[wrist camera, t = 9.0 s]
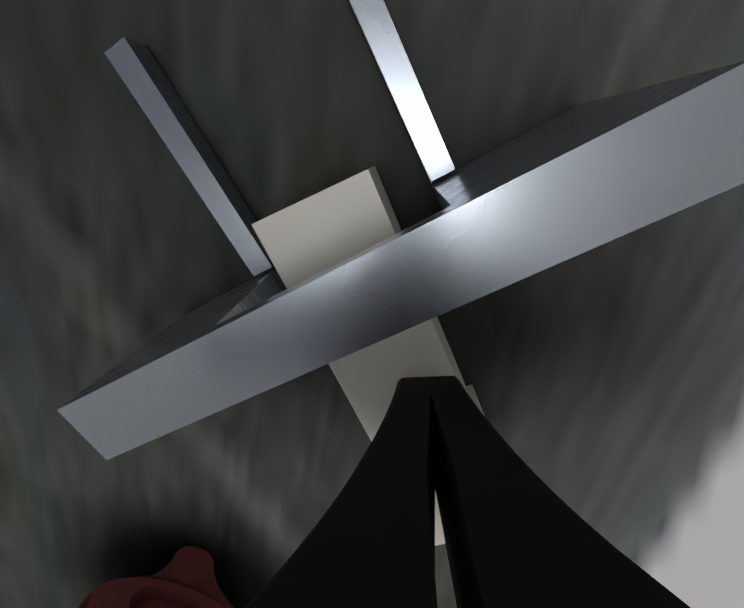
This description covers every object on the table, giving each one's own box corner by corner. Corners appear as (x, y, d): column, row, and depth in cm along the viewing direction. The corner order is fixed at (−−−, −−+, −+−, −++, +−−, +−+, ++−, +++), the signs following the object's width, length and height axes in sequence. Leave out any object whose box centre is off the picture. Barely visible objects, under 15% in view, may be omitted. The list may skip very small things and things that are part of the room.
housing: (43, 128, 10) (-241, 110, 5) (481, -217, 7) (619, -854, 2) (212, 349, 12) (106, 460, 8) (594, 162, 9) (769, 171, 5)
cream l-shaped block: (275, 212, 10) (213, 242, 7) (382, 162, 9) (372, 167, 6) (412, 474, 13) (416, 581, 10) (499, 451, 13) (534, 557, 9)
